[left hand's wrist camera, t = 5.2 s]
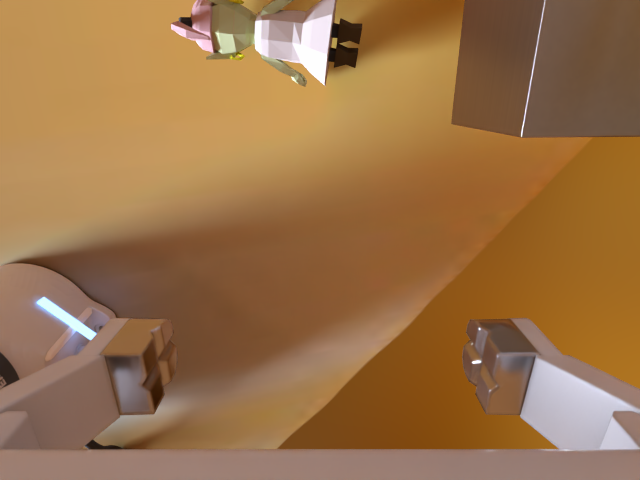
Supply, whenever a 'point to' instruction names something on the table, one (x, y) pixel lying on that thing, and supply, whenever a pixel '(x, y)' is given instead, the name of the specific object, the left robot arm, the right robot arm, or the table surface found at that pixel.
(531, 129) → the box
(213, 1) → the figurine
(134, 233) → the table surface
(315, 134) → the table surface
